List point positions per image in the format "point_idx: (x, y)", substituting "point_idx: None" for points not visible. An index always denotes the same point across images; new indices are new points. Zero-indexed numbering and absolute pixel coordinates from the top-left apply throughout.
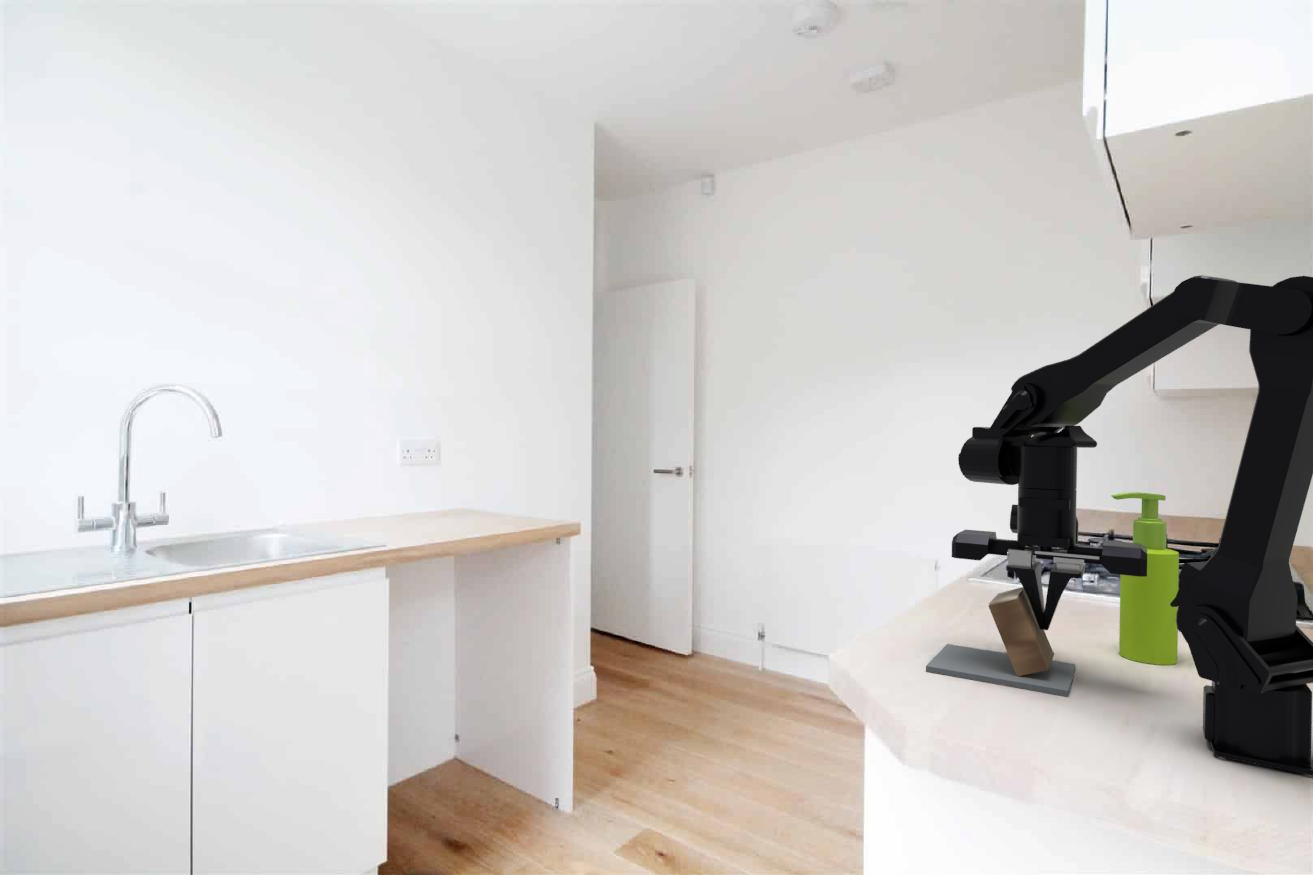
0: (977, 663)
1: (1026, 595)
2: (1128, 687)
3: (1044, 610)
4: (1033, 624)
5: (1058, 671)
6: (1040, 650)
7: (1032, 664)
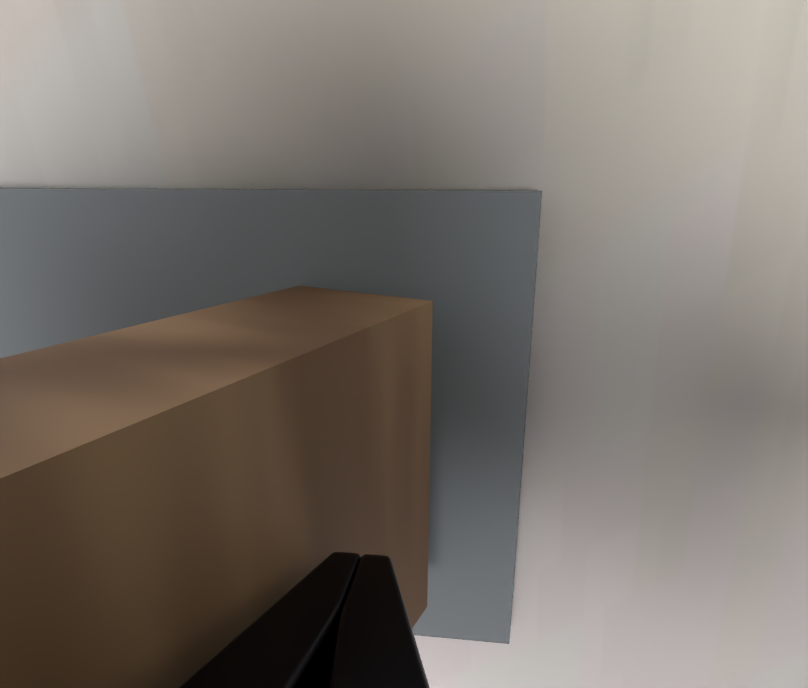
0: None
1: (62, 643)
2: (769, 373)
3: (324, 662)
4: None
5: (463, 395)
6: None
7: None
